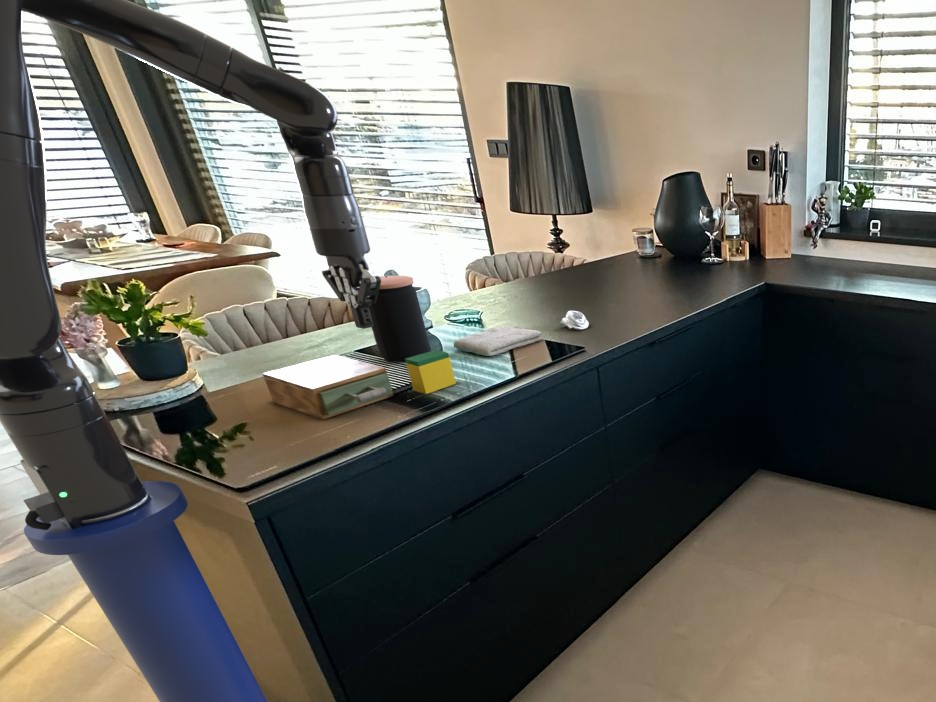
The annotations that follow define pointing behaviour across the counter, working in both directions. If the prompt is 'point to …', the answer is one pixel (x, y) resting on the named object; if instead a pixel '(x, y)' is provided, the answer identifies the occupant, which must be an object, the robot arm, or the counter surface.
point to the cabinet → (316, 382)
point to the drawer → (355, 393)
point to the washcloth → (497, 340)
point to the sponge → (430, 371)
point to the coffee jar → (398, 320)
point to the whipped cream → (574, 320)
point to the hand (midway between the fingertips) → (365, 327)
